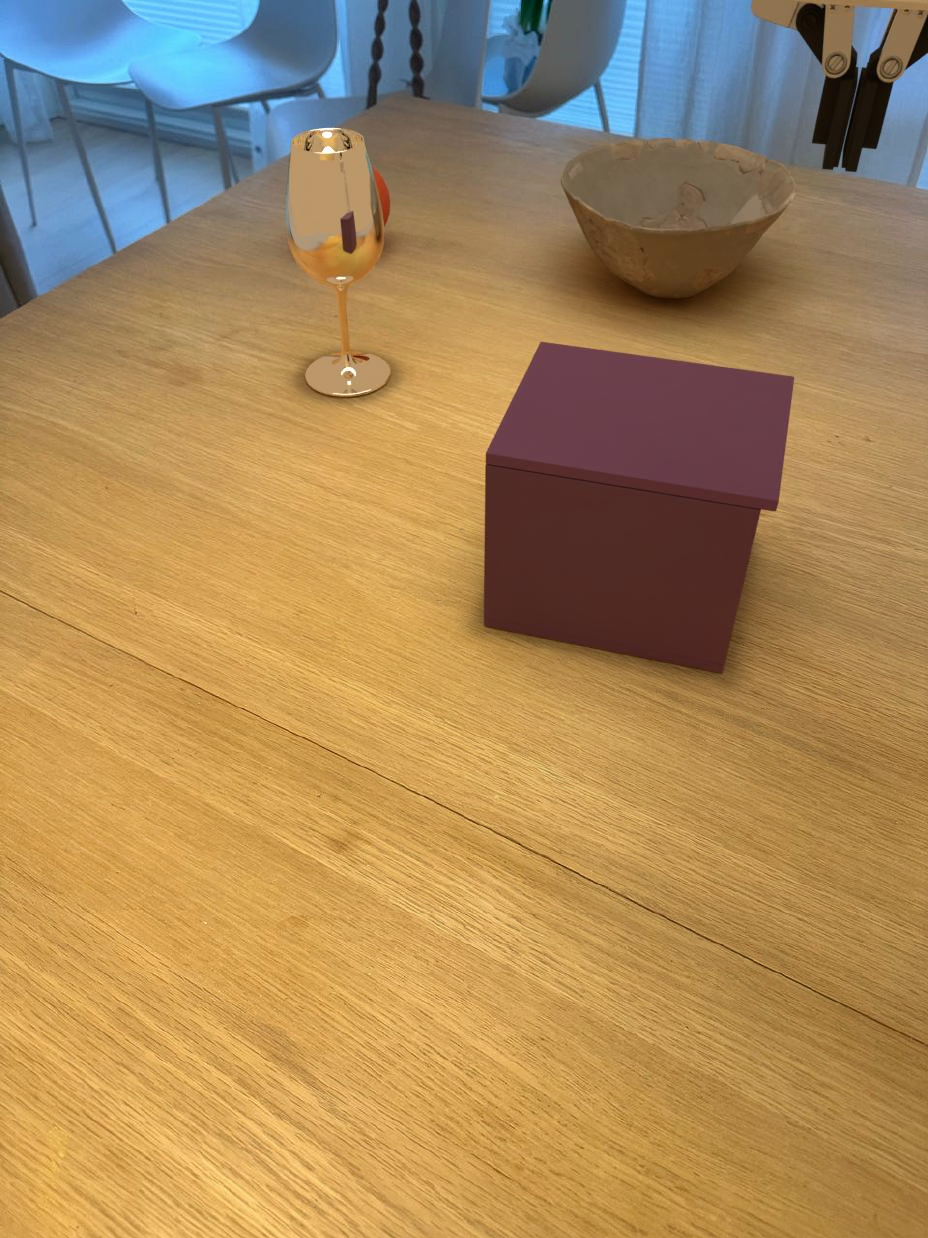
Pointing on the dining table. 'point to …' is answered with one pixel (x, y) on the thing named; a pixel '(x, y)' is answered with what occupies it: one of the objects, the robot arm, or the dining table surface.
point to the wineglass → (336, 241)
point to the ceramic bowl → (674, 209)
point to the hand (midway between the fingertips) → (840, 160)
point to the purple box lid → (649, 425)
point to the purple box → (614, 566)
